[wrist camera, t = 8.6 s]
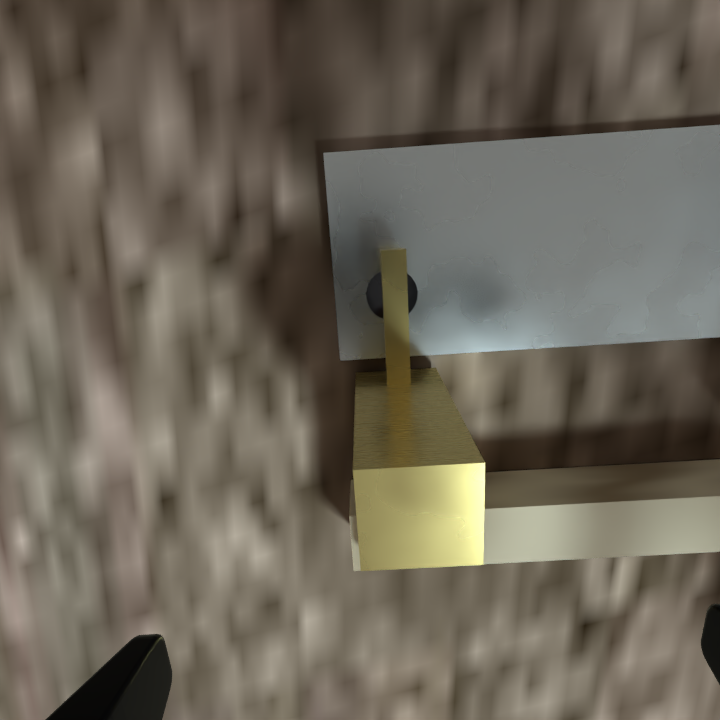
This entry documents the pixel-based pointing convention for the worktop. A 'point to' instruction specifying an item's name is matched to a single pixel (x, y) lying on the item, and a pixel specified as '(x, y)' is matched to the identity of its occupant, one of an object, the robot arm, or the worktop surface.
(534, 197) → the bolt plate
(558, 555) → the trammel beam
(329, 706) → the worktop surface
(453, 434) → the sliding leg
